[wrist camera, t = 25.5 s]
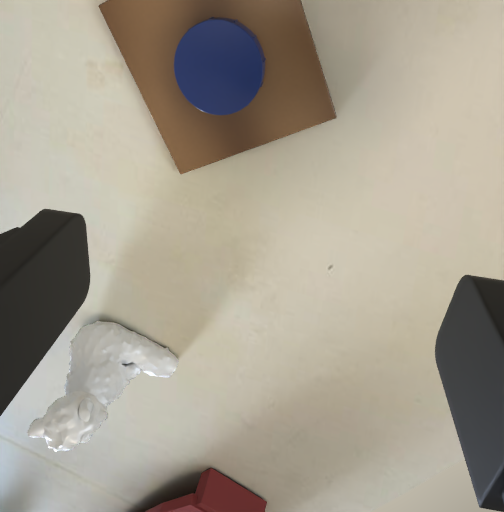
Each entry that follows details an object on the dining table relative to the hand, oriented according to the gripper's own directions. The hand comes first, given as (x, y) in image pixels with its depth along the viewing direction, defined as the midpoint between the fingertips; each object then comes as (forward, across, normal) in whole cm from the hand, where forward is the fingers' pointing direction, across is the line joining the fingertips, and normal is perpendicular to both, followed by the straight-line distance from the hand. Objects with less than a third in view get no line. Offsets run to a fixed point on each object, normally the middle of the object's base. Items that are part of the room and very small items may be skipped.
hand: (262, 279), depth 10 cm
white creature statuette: (+25, +13, +27) cm, 39 cm away
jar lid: (+23, +5, 0) cm, 23 cm away
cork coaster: (+25, +5, 0) cm, 25 cm away
